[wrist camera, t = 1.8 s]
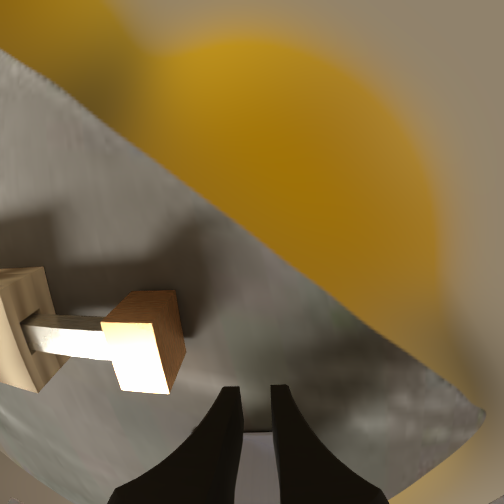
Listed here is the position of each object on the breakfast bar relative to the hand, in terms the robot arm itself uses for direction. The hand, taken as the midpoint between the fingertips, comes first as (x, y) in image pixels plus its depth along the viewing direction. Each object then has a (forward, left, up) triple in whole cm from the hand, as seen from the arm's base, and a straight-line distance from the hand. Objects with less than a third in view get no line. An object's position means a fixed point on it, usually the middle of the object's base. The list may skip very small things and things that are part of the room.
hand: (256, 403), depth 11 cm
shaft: (0, +13, -8) cm, 15 cm away
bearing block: (0, +21, -8) cm, 22 cm away
